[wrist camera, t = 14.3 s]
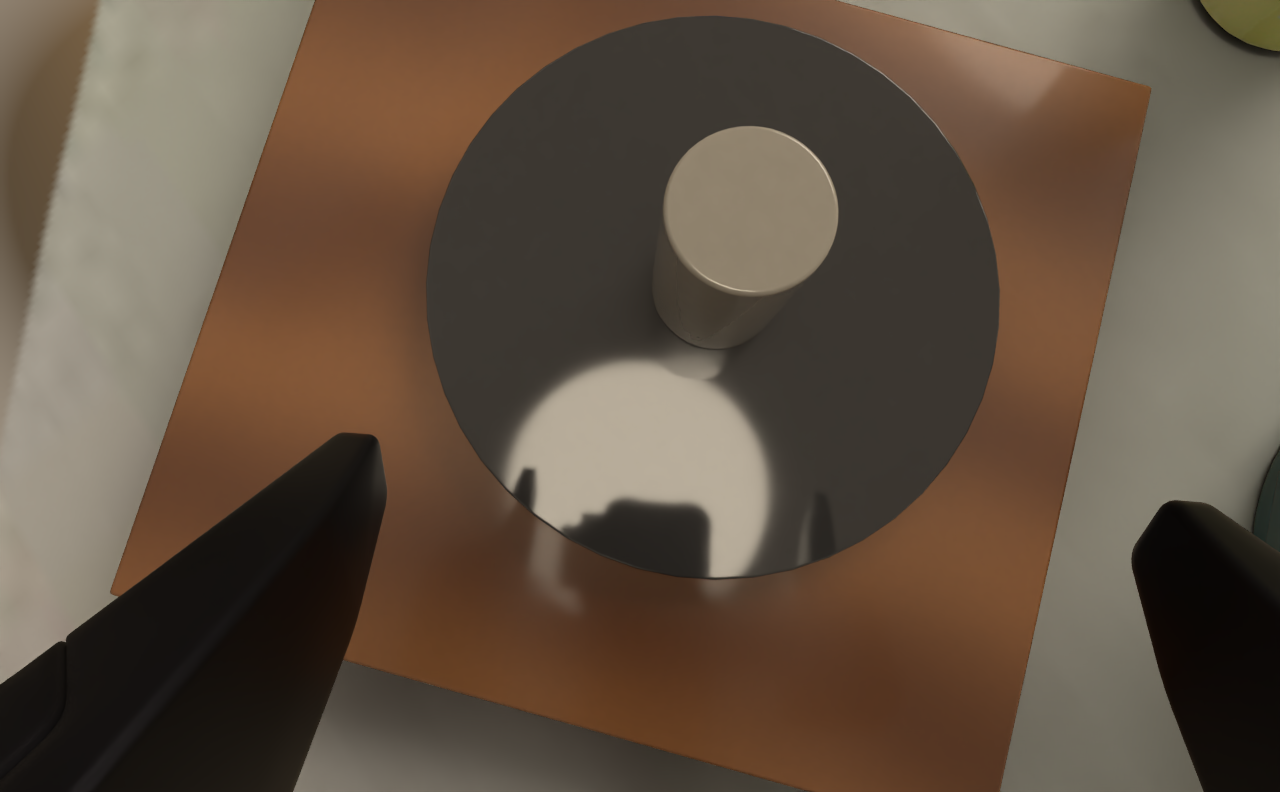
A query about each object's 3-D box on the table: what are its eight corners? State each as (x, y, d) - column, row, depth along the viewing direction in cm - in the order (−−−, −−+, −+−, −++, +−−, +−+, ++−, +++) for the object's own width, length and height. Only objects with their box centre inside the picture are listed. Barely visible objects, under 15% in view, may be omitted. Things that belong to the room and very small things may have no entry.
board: (944, 800, 20) (990, 844, 18) (170, 581, 20) (107, 594, 18) (1094, 130, 22) (1154, 86, 20) (388, -64, 22) (359, -133, 20)
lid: (1068, 448, 19) (1283, 430, 13) (555, 663, 18) (521, 754, 12) (849, -32, 20) (950, -259, 14) (358, 149, 19) (236, -7, 13)
